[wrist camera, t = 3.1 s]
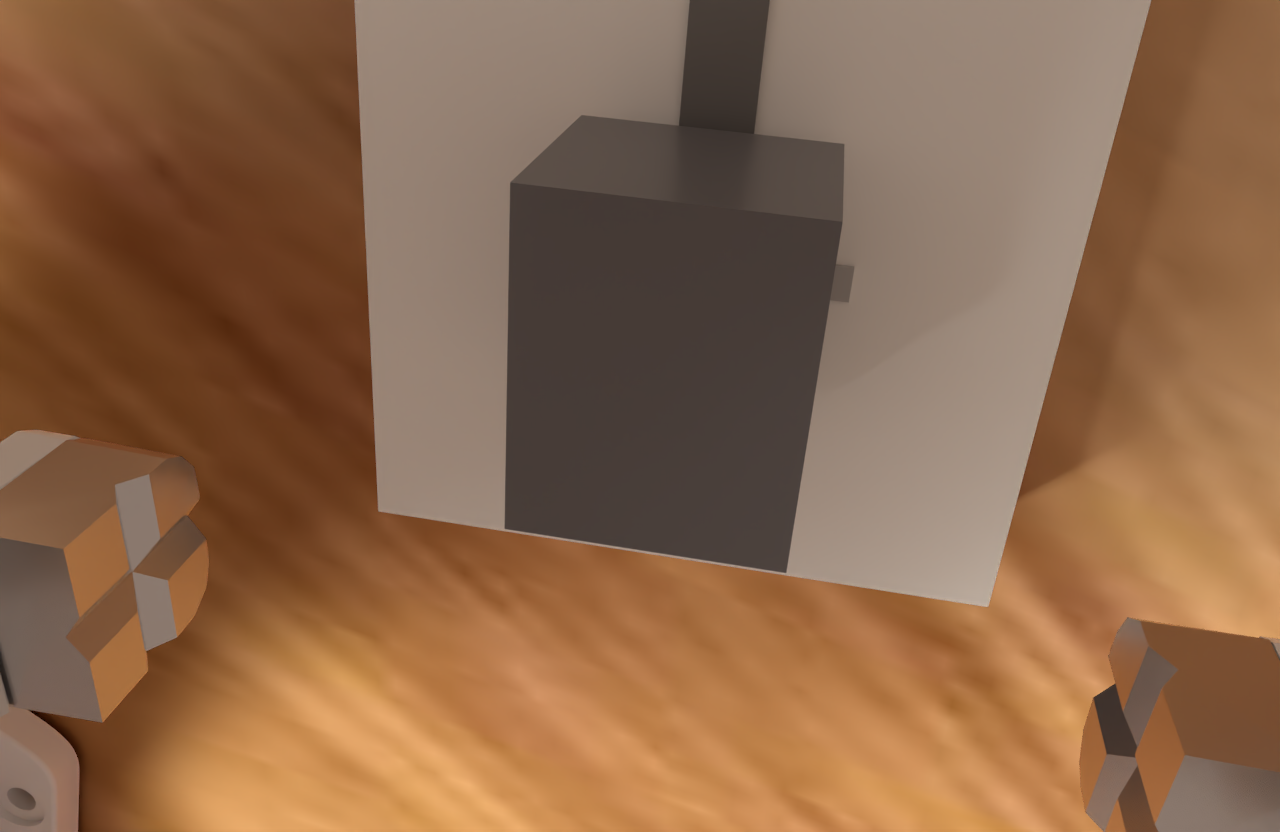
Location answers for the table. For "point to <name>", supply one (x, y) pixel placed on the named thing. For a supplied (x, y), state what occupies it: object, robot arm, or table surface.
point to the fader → (667, 336)
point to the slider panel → (867, 255)
